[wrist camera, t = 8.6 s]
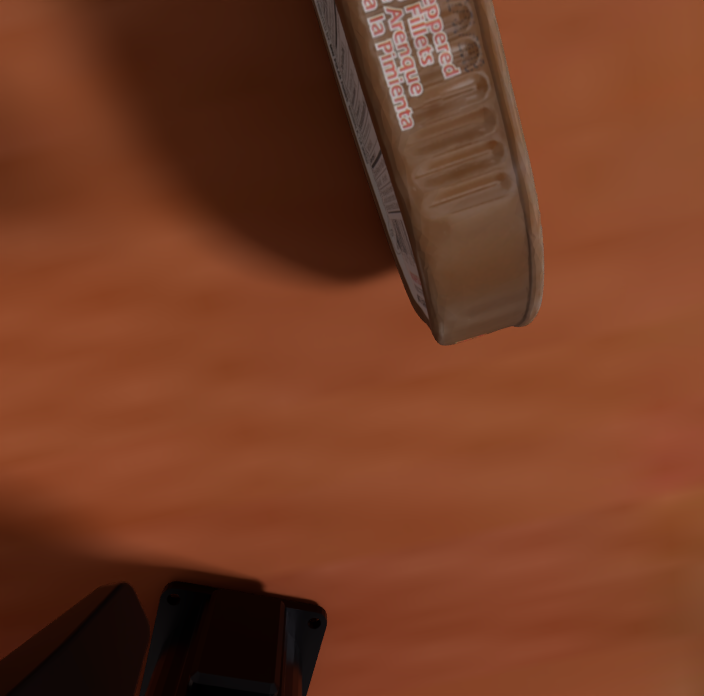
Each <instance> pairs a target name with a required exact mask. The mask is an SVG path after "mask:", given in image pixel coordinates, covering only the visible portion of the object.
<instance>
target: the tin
mask: <svg viewBox="0 0 704 696" xmlns="http://www.w3.org/2000/svg"><path fill="white" fill-rule="evenodd" d="M312 3H313V6H314V9H315V12H316V16H317V19H318V22H319V26H320V29H321V32H322V36H323V39H324V42H325V46H326V49H327V52H328V56H329V59H330V62H331V66H332V69H333V73H334V76H335V79H336V83H337V86H338V89H339V93H340V96H341V99H342V102H343V106H344V109H345V112H346V115H347V118H348V122H349V125H350V128H351V131H352V134H353V138H354V141H355V144H356V147H357V150H358V153H359V156H360V159H361V162H362V165H363V168H364V172H365V175H366V178H367V181H368V184H369V187H370V190H371V193H372V196H373V199H374V202H375V205H376V208H377V211H378V214H379V217H380V220H381V223H382V226H383V228H384V231H385V234H386V237H387V240H388V243H389V246H390V249H391V252H392V255H393V257H394V260H395V263H396V266H397V269H398V271H399V274H400V277H401V279H402V282H403V284H404V287H405V290H406V292H407V295H408V297H409V299H410V302H411V304H412V306H413V308H414V310H415V311H416V313H417V314H418V316H419V317H420V318H421V319H422V320H423V321H424V322H425V323H426V324H427V325H428V326H429V328H430V329H431V331H432V334H433V336H434V338H435V340H436V341H437V342H438V343H439V344H441V345H452V344H456V343H460V342H464V341H467V340H470V339H473V338H476V337H479V336H482V335H485V334H489V333H492V332H494V331H497V330H500V329H503V328H507V327H510V326H514V327H522V326H526V325H528V324H529V323H531V322H532V321H533V319H534V318H535V316H536V315H537V313H538V311H539V308H540V305H541V301H542V295H543V287H544V250H543V236H542V227H541V221H540V211H539V206H538V199H537V193H536V190H535V184H534V179H533V173H532V169H531V165H530V160H529V156H528V151H527V147H526V143H525V139H524V135H523V130H522V126H521V122H520V117H519V113H518V109H517V105H516V101H515V97H514V93H513V89H512V85H511V81H510V76H509V71H508V67H507V62H506V58H505V53H504V49H503V45H502V41H501V36H500V32H499V28H498V24H497V20H496V17H495V12H494V7H493V2H492V0H312Z"/></svg>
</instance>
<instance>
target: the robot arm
mask: <svg viewBox="0 0 704 696" xmlns="http://www.w3.org/2000/svg"><path fill="white" fill-rule="evenodd" d="M171 594H177V595H179V597H180V598H173V597H172V596H171ZM312 618H317V619H319V620H318V621H314V622H313V621H310V619H312ZM326 626H327V614H326V611H325V610H324V609H323V608H322V607H320V606H317V605H311V604H306V603H300V602H294V601H288V600H283V599H277V598H271V597H265V596H260V595H254V594H248V593H242V592H237V591H231V590H225V589H219V588H214V587H208V586H202V585H196V584H191V583H185V582H179V581H173V582H171V583H168V584H167V585H166V586H165V588H164V590H163V592H162V595H161V597H160V602H159V607H158V611H157V616H156V621H155V625H154V630H153V635H152V639H151V644H150V649H149V653H148V658H147V663H146V667H145V672H144V677H143V681H142V686H141V691H140V695H139V696H306V695H307V691H308V688H309V684H310V681H311V678H312V674H313V671H314V667H315V664H316V660H317V657H318V654H319V650H320V647H321V643H322V640H323V636H324V633H325V630H326ZM149 637H150V626H149V621H148V618H147V616H146V614H145V612H144V610H143V608H142V605H141V603H140V601H139V599H138V597H137V594H136V592H135V590H134V588H133V586H132V585H131V584H129V583H128V582H118V583H112V584H107V585H103V586H101V587H99V588H97V589H96V590H95V591H93V592H92V593H91V594H89V595H88V596H87V597H85V598H84V599H83V600H81V601H80V602H78V603H77V604H76V605H74V606H73V607H72V608H70V609H69V610H68V611H66V612H65V613H64V614H62V615H61V616H60V617H58V618H57V619H56V620H54V621H53V622H52V623H50V624H49V625H48V626H46V627H45V628H44V629H42V630H41V631H40V632H38V633H37V634H36V635H34V636H33V637H32V638H30V639H29V640H28V641H26V642H25V643H24V644H22V645H21V646H20V647H18V648H17V649H16V650H14V651H13V652H11V653H10V654H9V655H7V656H6V657H5V658H3V659H2V660H1V661H0V696H134V695H135V691H136V687H137V683H138V680H139V676H140V672H141V668H142V665H143V661H144V657H145V653H146V650H147V646H148V642H149Z"/></svg>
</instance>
